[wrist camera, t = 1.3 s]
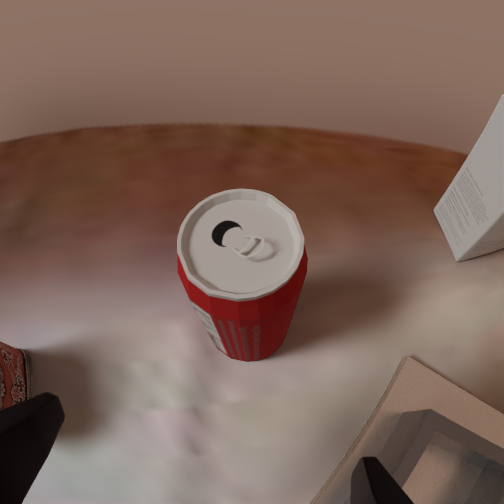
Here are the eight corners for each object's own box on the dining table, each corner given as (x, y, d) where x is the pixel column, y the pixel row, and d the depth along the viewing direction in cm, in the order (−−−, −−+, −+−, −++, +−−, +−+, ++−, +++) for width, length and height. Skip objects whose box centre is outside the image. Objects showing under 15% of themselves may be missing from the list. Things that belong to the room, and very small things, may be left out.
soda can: (302, 318, 23) (340, 224, 12) (254, 378, 21) (252, 337, 10) (242, 275, 24) (230, 160, 14) (193, 329, 22) (139, 245, 12)
